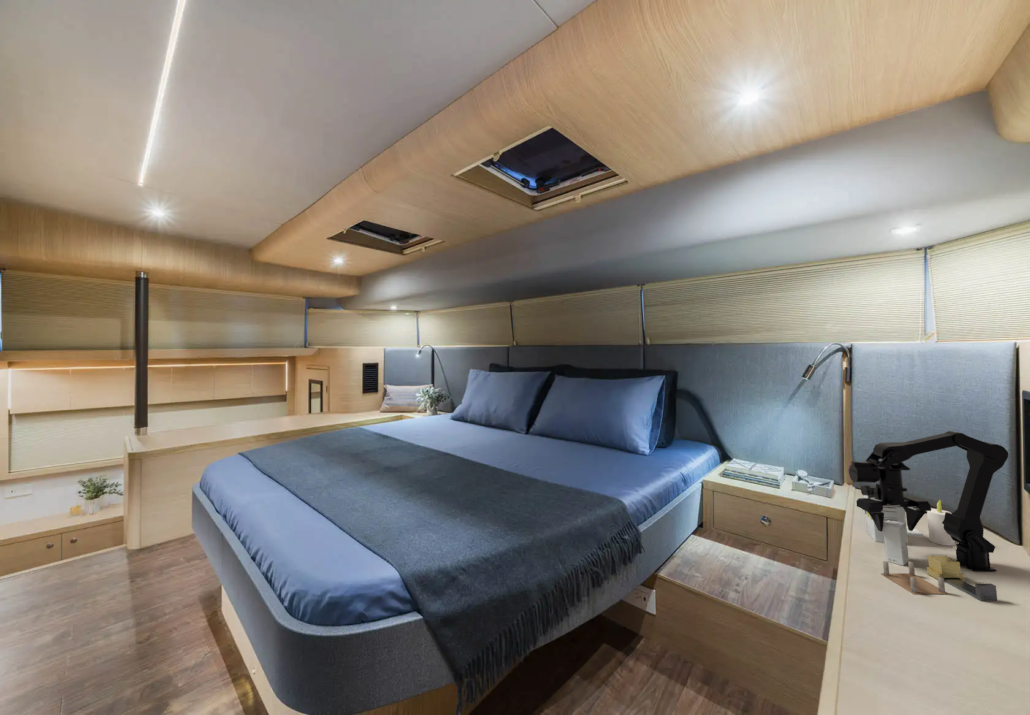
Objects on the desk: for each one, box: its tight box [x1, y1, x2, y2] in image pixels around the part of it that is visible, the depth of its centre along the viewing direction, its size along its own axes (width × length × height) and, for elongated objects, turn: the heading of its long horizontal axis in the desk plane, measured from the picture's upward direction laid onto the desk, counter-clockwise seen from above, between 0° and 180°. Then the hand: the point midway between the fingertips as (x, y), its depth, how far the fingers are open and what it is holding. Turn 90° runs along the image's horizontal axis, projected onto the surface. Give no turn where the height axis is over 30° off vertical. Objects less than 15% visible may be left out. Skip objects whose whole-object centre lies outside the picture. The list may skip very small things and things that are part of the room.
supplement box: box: [862, 495, 909, 546], centre depth 145 cm, size 10×9×17 cm
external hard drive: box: [906, 525, 924, 537], centre depth 151 cm, size 2×8×12 cm
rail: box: [944, 578, 998, 602], centre depth 113 cm, size 4×14×4 cm, turn 175°
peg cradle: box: [880, 560, 950, 595], centre depth 116 cm, size 9×11×4 cm
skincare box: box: [883, 520, 910, 567], centre depth 129 cm, size 6×4×12 cm
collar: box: [926, 555, 964, 581], centre depth 118 cm, size 6×4×5 cm, turn 85°
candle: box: [926, 499, 956, 547], centre depth 141 cm, size 6×6×15 cm
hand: (895, 530), depth 129 cm, fingers open, 9 cm apart
